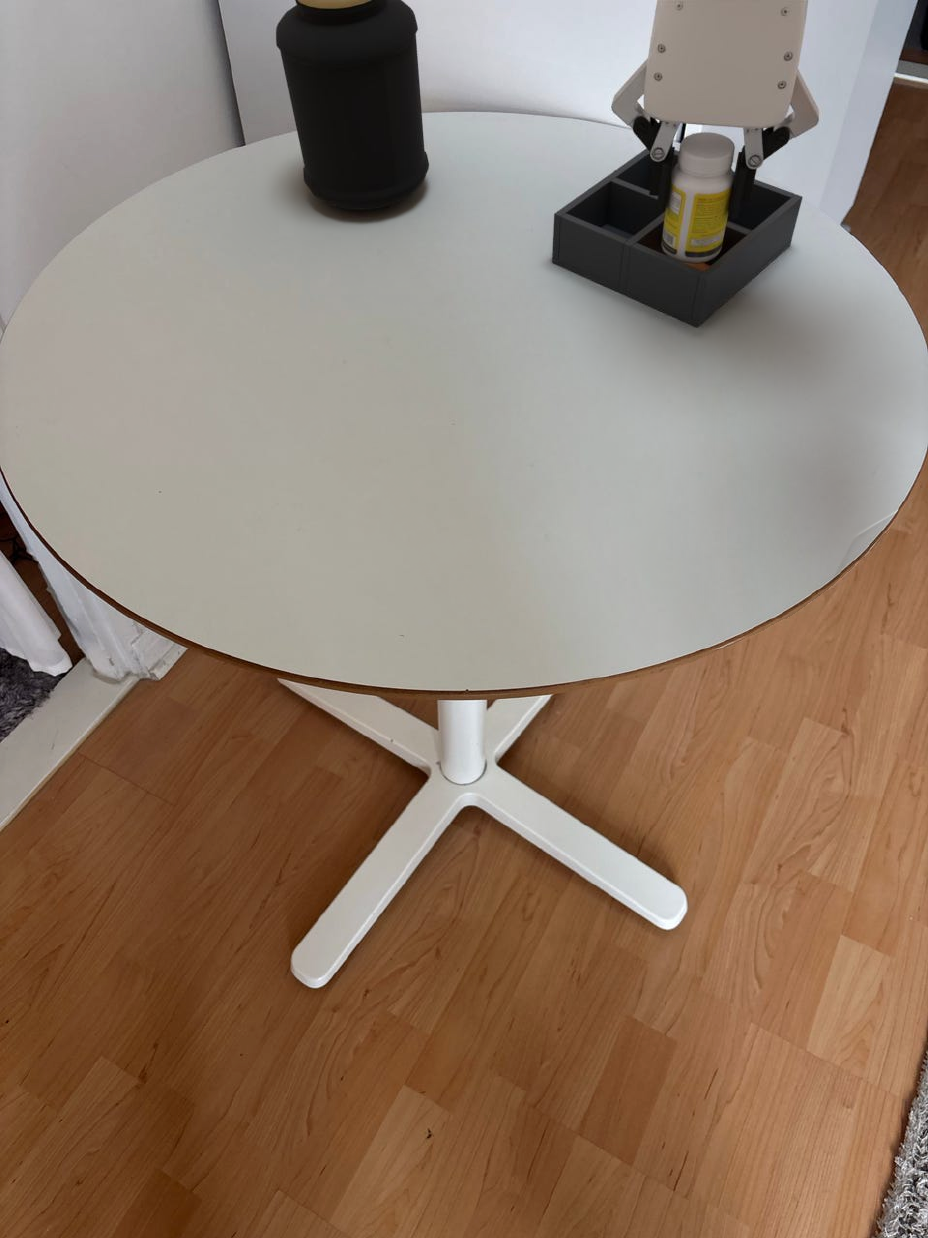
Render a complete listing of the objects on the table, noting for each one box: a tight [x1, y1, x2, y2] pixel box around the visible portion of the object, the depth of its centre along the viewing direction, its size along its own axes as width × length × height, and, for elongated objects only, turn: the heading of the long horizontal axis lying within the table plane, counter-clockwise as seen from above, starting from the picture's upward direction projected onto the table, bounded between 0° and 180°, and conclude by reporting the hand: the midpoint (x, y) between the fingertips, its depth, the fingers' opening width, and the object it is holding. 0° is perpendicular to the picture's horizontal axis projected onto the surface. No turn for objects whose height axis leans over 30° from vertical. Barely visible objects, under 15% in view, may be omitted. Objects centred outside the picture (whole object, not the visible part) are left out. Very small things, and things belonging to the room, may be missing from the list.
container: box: [275, 0, 430, 211], centre depth 86 cm, size 12×12×18 cm
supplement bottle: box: [662, 131, 736, 264], centre depth 76 cm, size 5×5×8 cm
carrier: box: [551, 147, 804, 328], centre depth 83 cm, size 15×15×4 cm
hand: (697, 203), depth 76 cm, fingers closed on supplement bottle, 4 cm apart
